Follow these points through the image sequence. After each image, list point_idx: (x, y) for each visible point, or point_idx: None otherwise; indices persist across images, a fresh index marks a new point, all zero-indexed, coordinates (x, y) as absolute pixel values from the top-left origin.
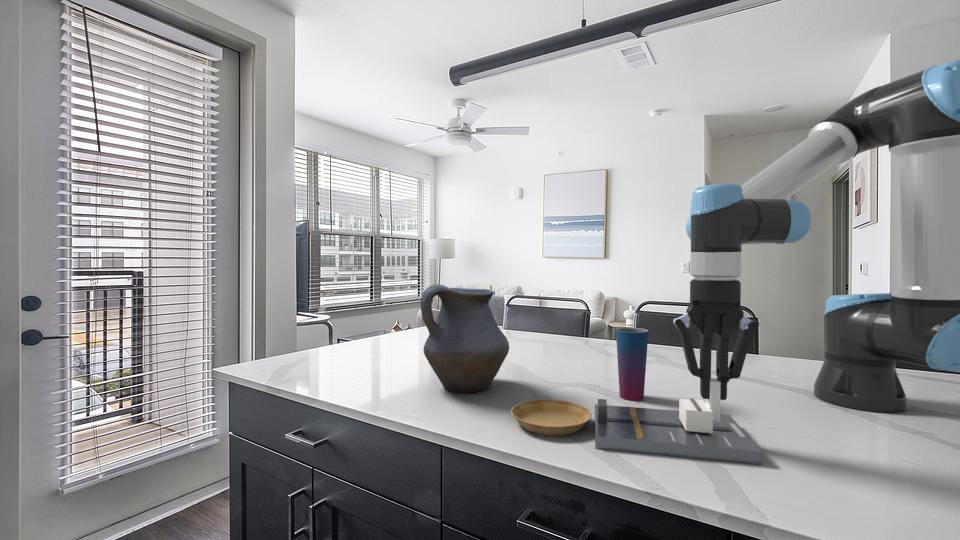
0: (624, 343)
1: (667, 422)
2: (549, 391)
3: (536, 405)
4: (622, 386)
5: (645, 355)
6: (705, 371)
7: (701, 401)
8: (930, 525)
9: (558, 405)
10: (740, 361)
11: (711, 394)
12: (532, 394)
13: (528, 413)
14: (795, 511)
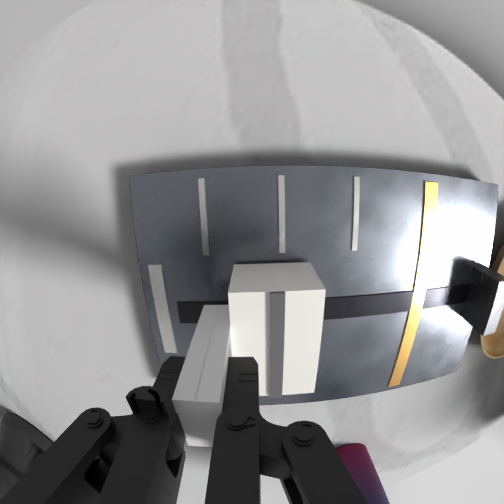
0: None
1: (341, 323)
2: (464, 417)
3: None
4: (371, 462)
5: None
6: (245, 447)
7: None
8: (15, 68)
9: (497, 348)
10: (51, 466)
11: (221, 360)
12: (490, 394)
13: None
14: (155, 4)
